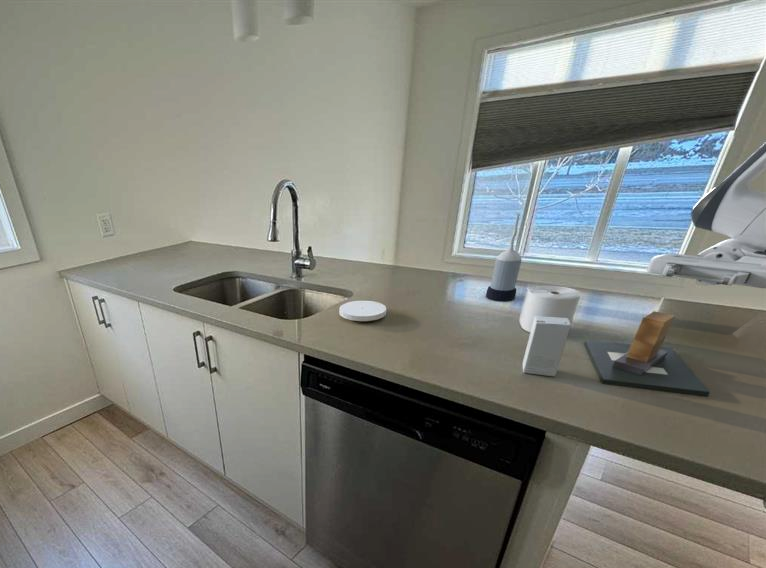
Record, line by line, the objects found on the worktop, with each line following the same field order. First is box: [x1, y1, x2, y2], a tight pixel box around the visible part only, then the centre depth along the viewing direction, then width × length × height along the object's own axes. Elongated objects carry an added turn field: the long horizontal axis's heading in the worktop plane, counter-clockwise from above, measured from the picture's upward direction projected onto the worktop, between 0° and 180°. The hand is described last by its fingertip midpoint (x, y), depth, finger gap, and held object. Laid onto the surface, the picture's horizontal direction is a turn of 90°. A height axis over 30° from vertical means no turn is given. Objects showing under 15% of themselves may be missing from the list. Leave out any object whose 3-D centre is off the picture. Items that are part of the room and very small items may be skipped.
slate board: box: [583, 339, 711, 397], centre depth 87 cm, size 16×20×1 cm
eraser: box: [612, 310, 676, 375], centre depth 84 cm, size 5×12×10 cm, turn 122°
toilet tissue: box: [519, 284, 582, 334], centre depth 105 cm, size 11×12×10 cm
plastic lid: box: [338, 300, 387, 322], centre depth 125 cm, size 14×14×2 cm
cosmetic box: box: [522, 316, 572, 377], centre depth 86 cm, size 6×4×12 cm
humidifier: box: [485, 213, 526, 303], centre depth 123 cm, size 8×8×25 cm
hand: (696, 277), depth 87 cm, fingers open, 8 cm apart
